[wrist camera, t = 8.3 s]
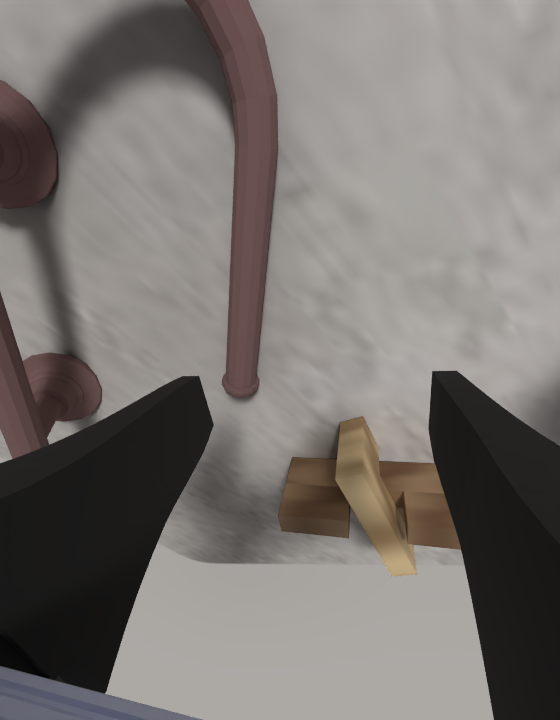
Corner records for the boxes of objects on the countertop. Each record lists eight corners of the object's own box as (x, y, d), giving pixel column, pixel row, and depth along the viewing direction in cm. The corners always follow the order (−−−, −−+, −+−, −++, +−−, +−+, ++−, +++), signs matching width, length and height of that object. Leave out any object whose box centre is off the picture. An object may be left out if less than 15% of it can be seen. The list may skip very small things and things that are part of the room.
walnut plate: (468, 465, 23) (492, 533, 18) (465, 482, 23) (489, 552, 19) (292, 457, 26) (278, 514, 21) (295, 472, 26) (281, 531, 22)
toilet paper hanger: (252, 476, 25) (-21, 501, 21) (242, 415, 31) (25, 425, 27) (318, -123, 11) (-496, -402, 7) (276, -30, 17) (-178, -151, 13)
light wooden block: (340, 422, 23) (335, 479, 19) (363, 416, 22) (362, 474, 18) (387, 510, 26) (391, 576, 22) (408, 507, 26) (417, 574, 21)
